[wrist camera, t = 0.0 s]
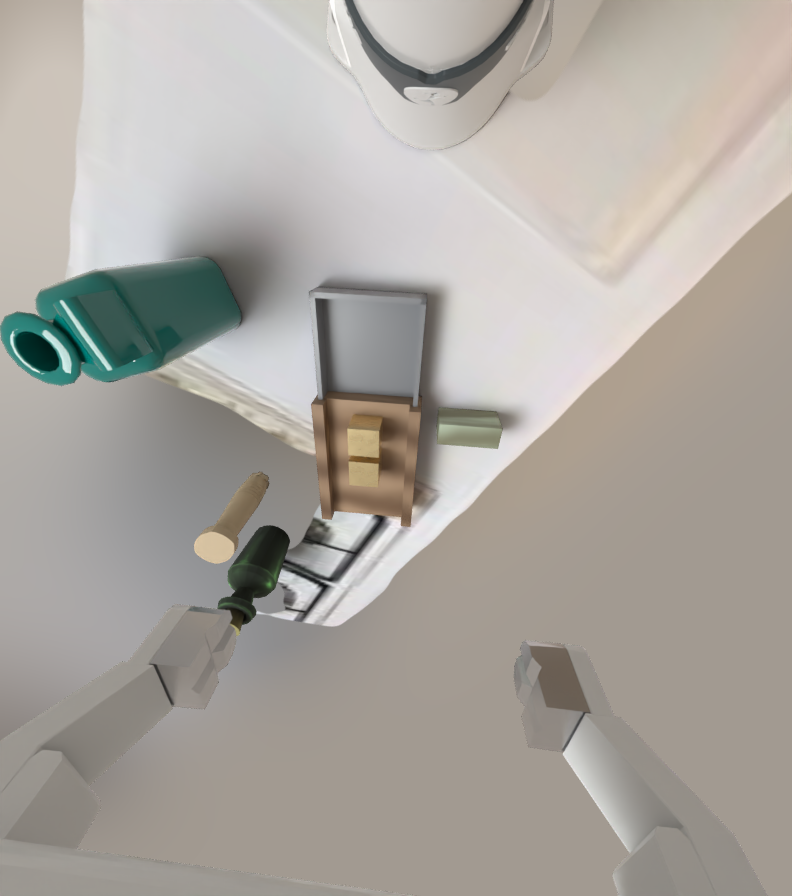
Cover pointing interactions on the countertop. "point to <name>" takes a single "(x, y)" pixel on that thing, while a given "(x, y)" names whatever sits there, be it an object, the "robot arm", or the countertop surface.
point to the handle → (231, 521)
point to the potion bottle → (255, 573)
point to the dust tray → (367, 341)
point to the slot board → (396, 454)
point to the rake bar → (468, 428)
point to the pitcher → (121, 321)
